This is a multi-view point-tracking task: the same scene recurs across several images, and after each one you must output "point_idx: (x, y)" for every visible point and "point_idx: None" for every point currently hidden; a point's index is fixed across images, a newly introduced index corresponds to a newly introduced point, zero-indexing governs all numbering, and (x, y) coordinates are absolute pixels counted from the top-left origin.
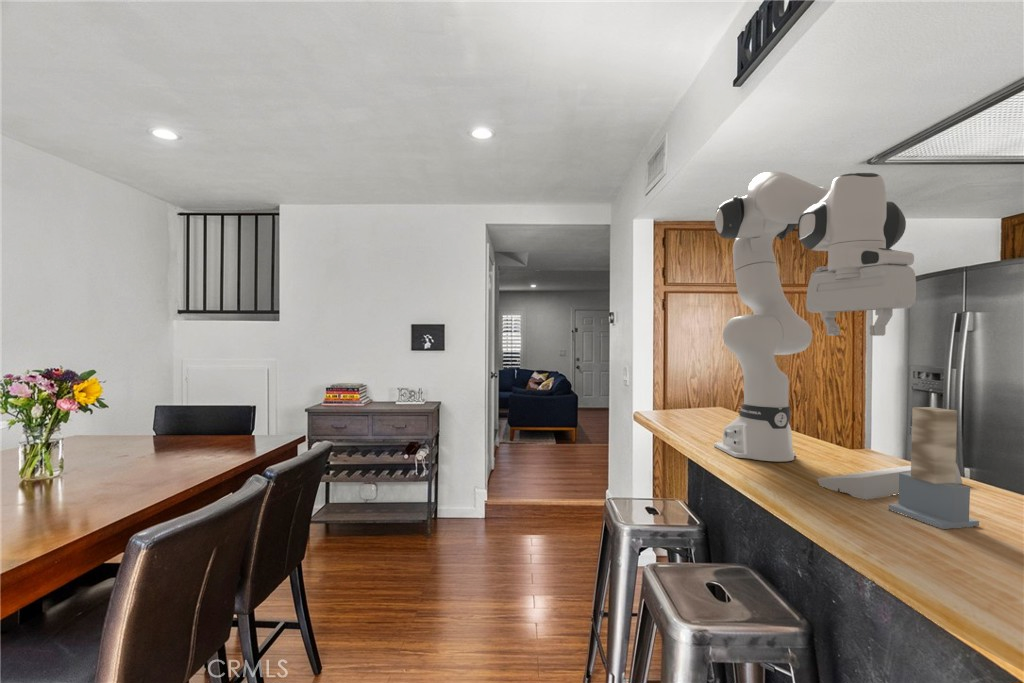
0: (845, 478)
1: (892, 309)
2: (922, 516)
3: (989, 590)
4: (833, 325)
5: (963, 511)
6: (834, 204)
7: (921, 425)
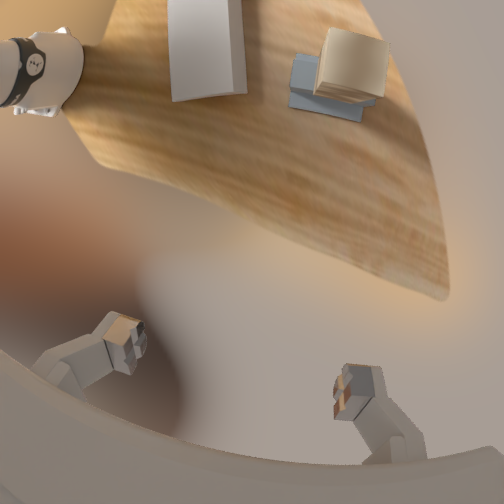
0: (210, 94)
1: (427, 460)
2: (335, 115)
3: (435, 250)
4: (104, 354)
5: None
6: None
7: (340, 90)
